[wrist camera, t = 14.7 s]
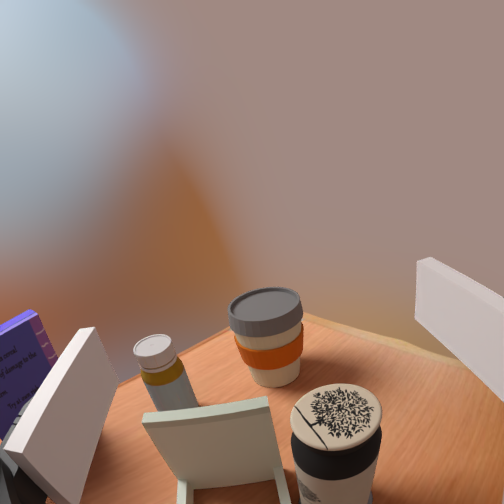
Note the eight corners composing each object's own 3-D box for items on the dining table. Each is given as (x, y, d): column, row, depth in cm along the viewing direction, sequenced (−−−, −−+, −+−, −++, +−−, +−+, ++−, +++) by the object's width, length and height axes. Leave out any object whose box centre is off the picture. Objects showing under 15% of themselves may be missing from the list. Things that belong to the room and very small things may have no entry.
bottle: (169, 400, 52) (141, 333, 48) (204, 401, 51) (179, 331, 46) (157, 426, 45) (123, 357, 41) (195, 429, 44) (164, 358, 40)
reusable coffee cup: (302, 347, 62) (294, 281, 57) (315, 386, 50) (308, 312, 45) (242, 358, 62) (226, 293, 58) (243, 399, 50) (224, 328, 46)
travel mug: (352, 468, 31) (358, 370, 26) (378, 511, 24) (403, 424, 19) (293, 489, 30) (275, 397, 25) (313, 537, 23) (305, 465, 18)
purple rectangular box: (85, 416, 48) (29, 308, 41) (97, 426, 45) (37, 312, 38) (23, 462, 34) (-51, 353, 27) (33, 476, 31) (-50, 362, 24)
